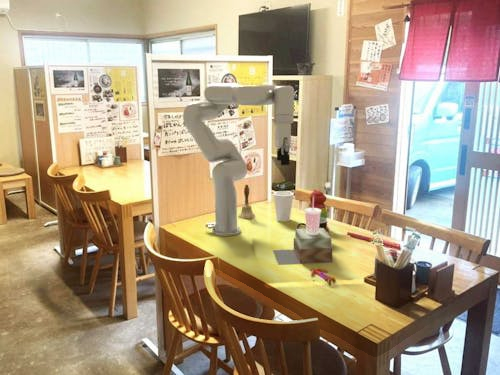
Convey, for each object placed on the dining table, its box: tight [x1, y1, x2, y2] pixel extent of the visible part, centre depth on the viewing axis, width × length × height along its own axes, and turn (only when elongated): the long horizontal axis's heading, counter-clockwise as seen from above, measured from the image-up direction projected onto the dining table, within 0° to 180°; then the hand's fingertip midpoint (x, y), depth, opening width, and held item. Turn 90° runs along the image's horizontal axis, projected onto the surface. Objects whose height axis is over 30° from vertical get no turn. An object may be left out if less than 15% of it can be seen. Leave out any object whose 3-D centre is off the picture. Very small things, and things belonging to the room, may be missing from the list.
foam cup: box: [273, 190, 294, 223], centre depth 216 cm, size 10×9×13 cm
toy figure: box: [309, 267, 337, 286], centre depth 154 cm, size 8×12×3 cm
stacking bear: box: [307, 189, 330, 233], centre depth 203 cm, size 11×10×18 cm
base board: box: [272, 248, 334, 266], centre depth 170 cm, size 20×14×1 cm
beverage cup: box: [304, 197, 321, 235], centre depth 167 cm, size 6×6×14 cm
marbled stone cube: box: [293, 228, 333, 263], centre depth 170 cm, size 12×12×9 cm
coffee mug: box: [296, 217, 328, 230], centre depth 186 cm, size 12×9×10 cm
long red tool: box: [346, 231, 401, 250], centre depth 188 cm, size 24×2×5 cm
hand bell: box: [238, 184, 256, 220], centre depth 221 cm, size 8×8×16 cm
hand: (283, 162), depth 177 cm, fingers open, 9 cm apart
